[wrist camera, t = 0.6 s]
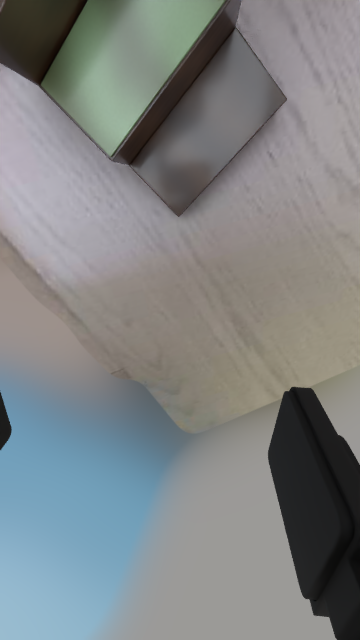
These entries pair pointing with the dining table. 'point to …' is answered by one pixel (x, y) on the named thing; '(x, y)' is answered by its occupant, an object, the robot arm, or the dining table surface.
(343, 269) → the dining table surface
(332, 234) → the dining table surface
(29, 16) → the wooden step stool
